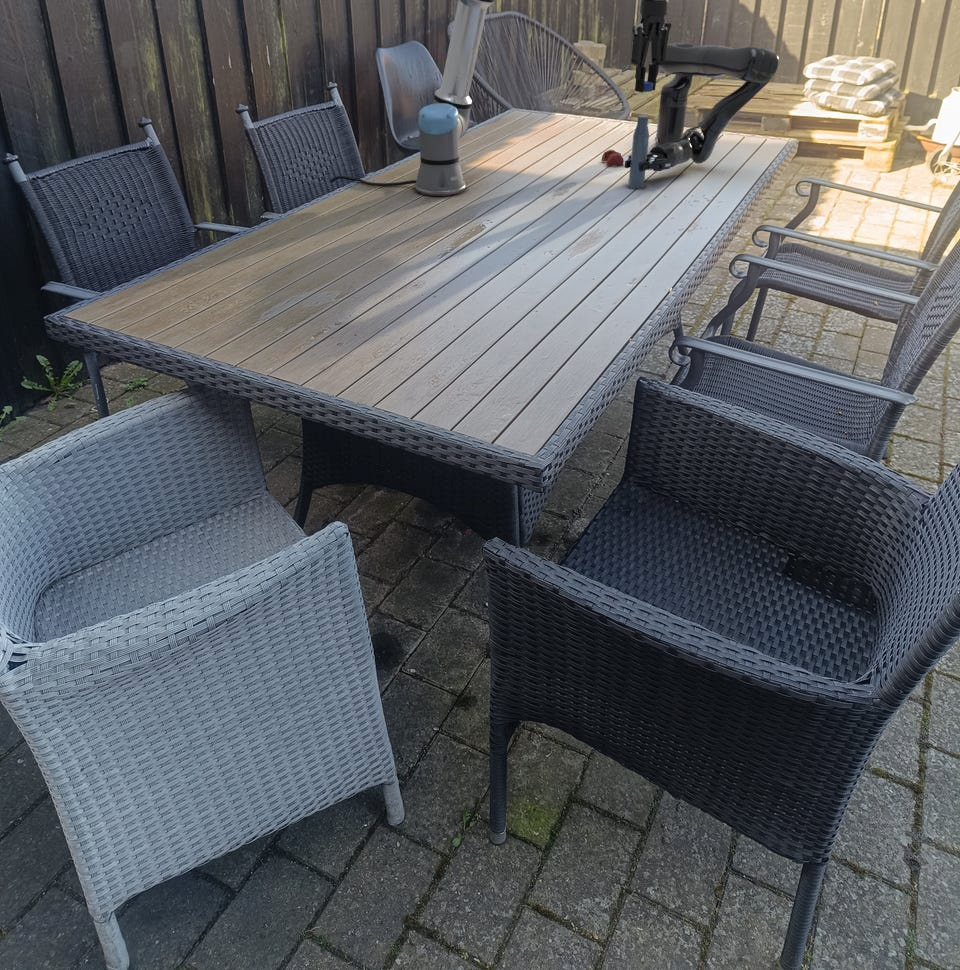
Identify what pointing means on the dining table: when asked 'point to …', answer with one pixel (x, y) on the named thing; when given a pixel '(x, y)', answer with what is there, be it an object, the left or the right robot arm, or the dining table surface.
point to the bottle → (639, 153)
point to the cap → (648, 86)
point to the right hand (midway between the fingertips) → (632, 166)
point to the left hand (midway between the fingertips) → (644, 90)
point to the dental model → (612, 158)
